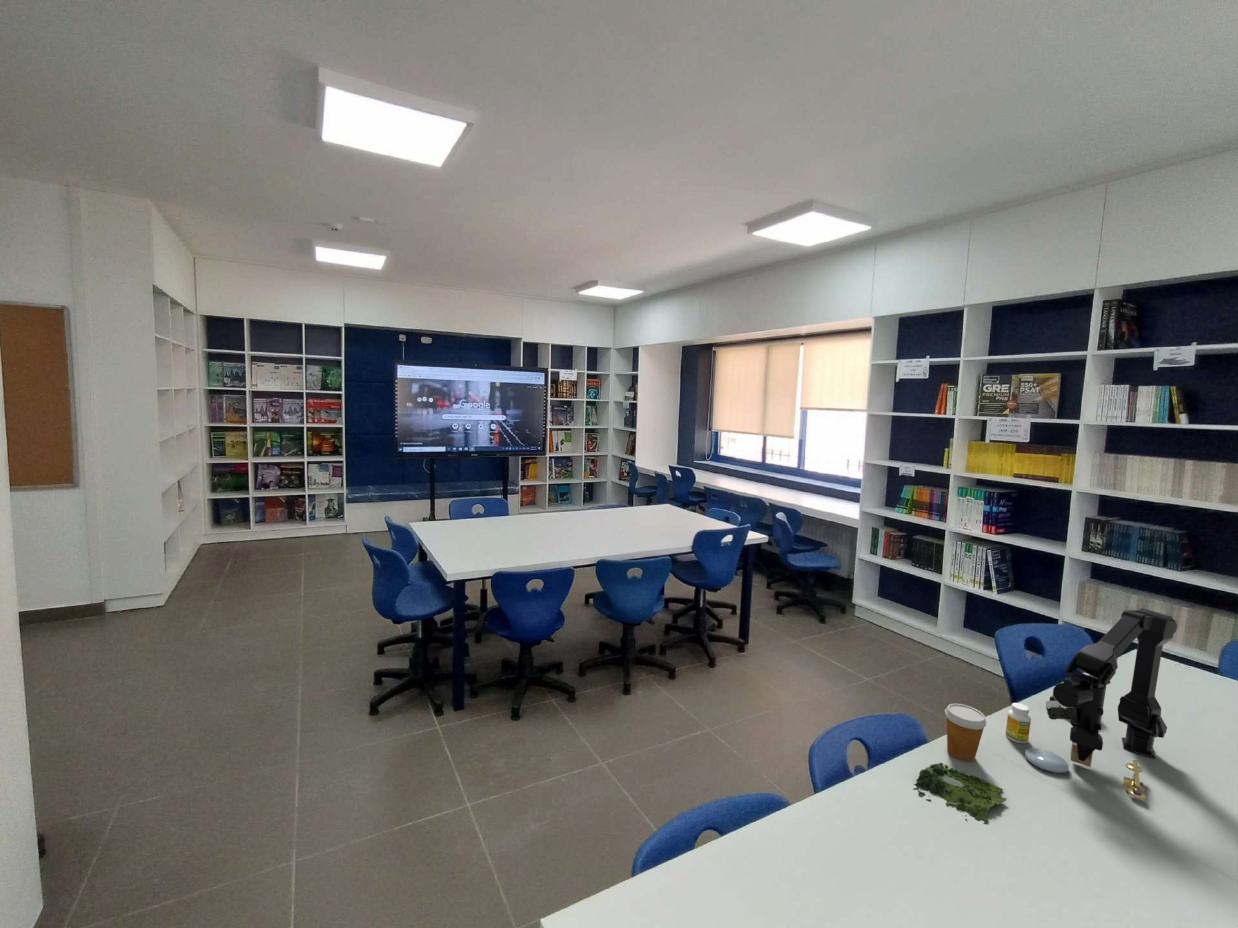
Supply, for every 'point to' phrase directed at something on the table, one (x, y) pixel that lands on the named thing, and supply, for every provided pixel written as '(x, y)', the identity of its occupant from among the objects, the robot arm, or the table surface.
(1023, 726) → the supplement bottle
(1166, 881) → the table surface
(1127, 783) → the brass balance
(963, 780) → the landscape model
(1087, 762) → the walnut block
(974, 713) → the disposable coffee cup
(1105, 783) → the table surface
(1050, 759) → the light blue dish
